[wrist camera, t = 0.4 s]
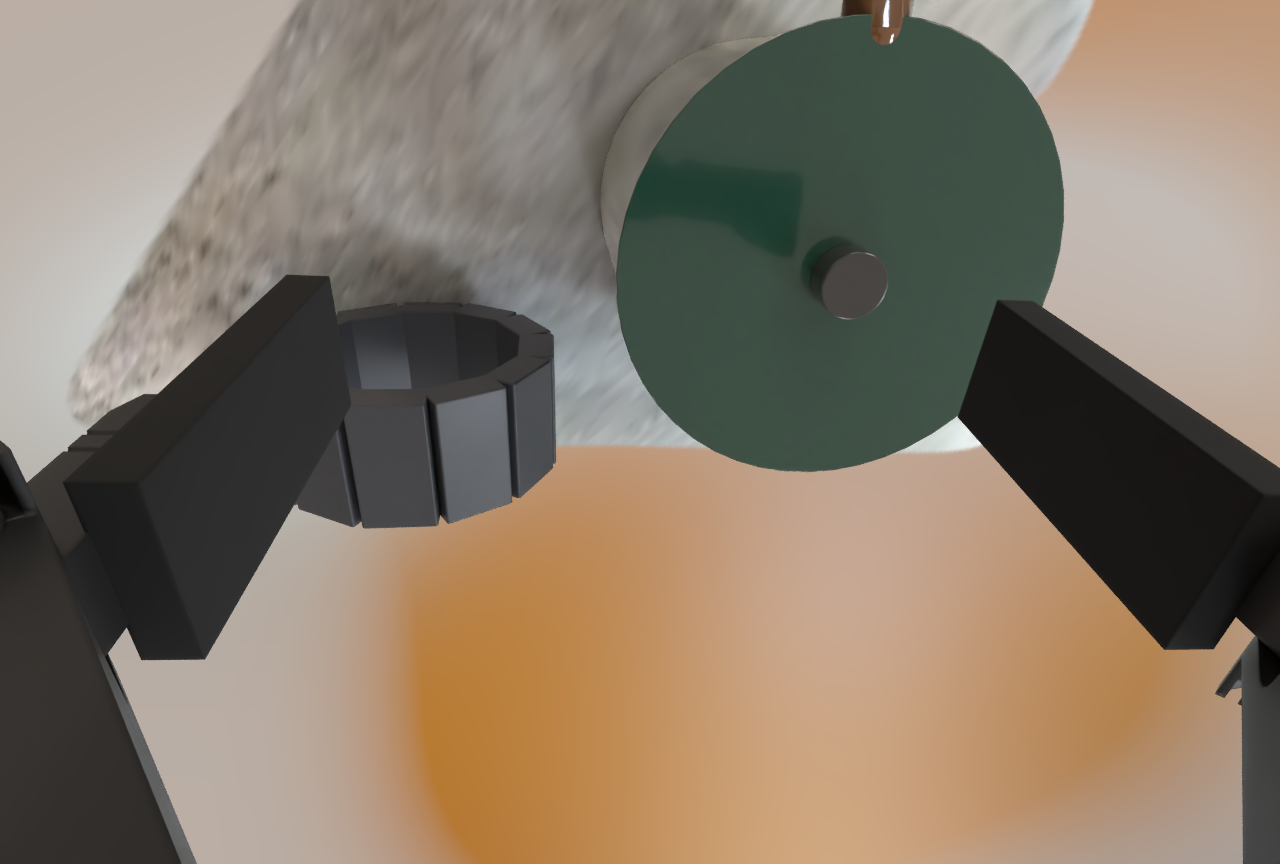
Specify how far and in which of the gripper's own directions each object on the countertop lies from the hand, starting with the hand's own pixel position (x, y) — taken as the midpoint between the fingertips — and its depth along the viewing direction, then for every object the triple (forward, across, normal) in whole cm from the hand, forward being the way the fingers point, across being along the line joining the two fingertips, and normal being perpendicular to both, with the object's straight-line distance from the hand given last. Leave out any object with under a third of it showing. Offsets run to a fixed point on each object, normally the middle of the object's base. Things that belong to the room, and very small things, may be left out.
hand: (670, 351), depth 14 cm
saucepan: (+20, +5, +5) cm, 21 cm away
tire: (+18, -9, -9) cm, 22 cm away
